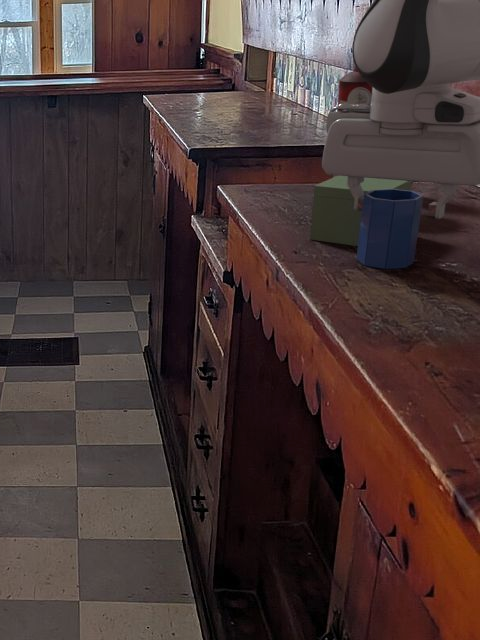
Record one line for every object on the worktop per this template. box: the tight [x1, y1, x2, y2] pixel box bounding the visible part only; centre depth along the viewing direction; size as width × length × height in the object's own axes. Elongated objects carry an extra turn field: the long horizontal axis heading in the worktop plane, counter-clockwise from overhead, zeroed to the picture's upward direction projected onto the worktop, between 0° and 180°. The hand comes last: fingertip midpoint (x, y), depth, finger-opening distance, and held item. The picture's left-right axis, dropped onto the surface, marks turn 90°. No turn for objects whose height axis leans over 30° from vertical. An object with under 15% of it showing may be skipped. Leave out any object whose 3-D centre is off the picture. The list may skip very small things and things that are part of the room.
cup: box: [355, 189, 424, 270], centre depth 114 cm, size 7×7×9 cm
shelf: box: [309, 176, 412, 247], centre depth 126 cm, size 10×10×8 cm
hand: (397, 213), depth 113 cm, fingers open, 8 cm apart
